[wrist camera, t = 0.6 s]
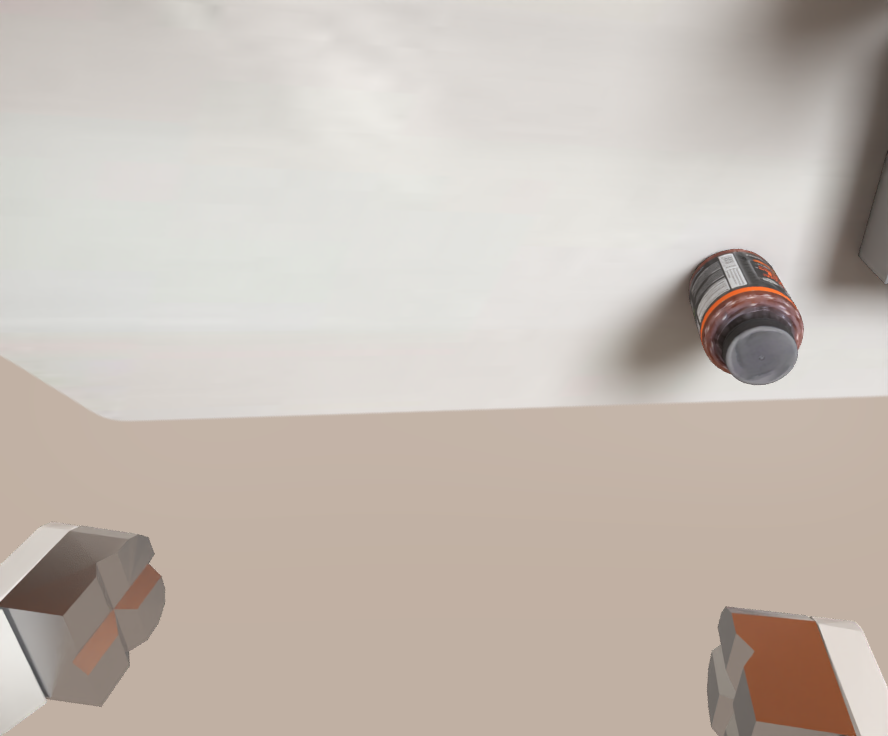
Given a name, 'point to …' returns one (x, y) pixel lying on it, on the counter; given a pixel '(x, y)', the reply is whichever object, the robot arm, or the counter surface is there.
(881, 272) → the walled box
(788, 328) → the supplement bottle
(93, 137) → the counter surface
